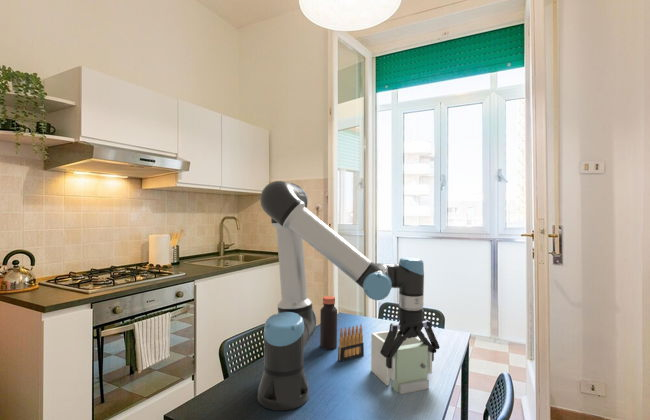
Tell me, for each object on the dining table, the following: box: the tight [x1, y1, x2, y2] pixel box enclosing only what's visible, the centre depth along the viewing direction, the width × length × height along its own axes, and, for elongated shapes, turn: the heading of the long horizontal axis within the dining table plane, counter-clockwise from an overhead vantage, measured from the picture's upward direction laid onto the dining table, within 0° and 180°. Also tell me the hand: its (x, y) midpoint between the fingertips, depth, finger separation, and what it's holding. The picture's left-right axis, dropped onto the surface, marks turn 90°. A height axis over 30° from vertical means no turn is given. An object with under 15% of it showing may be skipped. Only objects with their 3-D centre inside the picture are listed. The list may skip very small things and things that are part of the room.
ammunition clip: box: [337, 324, 365, 362], centre depth 130 cm, size 11×2×12 cm, turn 121°
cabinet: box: [370, 329, 430, 395], centre depth 114 cm, size 13×17×13 cm
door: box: [392, 343, 428, 393], centre depth 108 cm, size 11×3×13 cm, turn 110°
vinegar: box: [319, 295, 338, 351], centre depth 140 cm, size 7×7×20 cm
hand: (410, 374), depth 109 cm, fingers open, 13 cm apart
